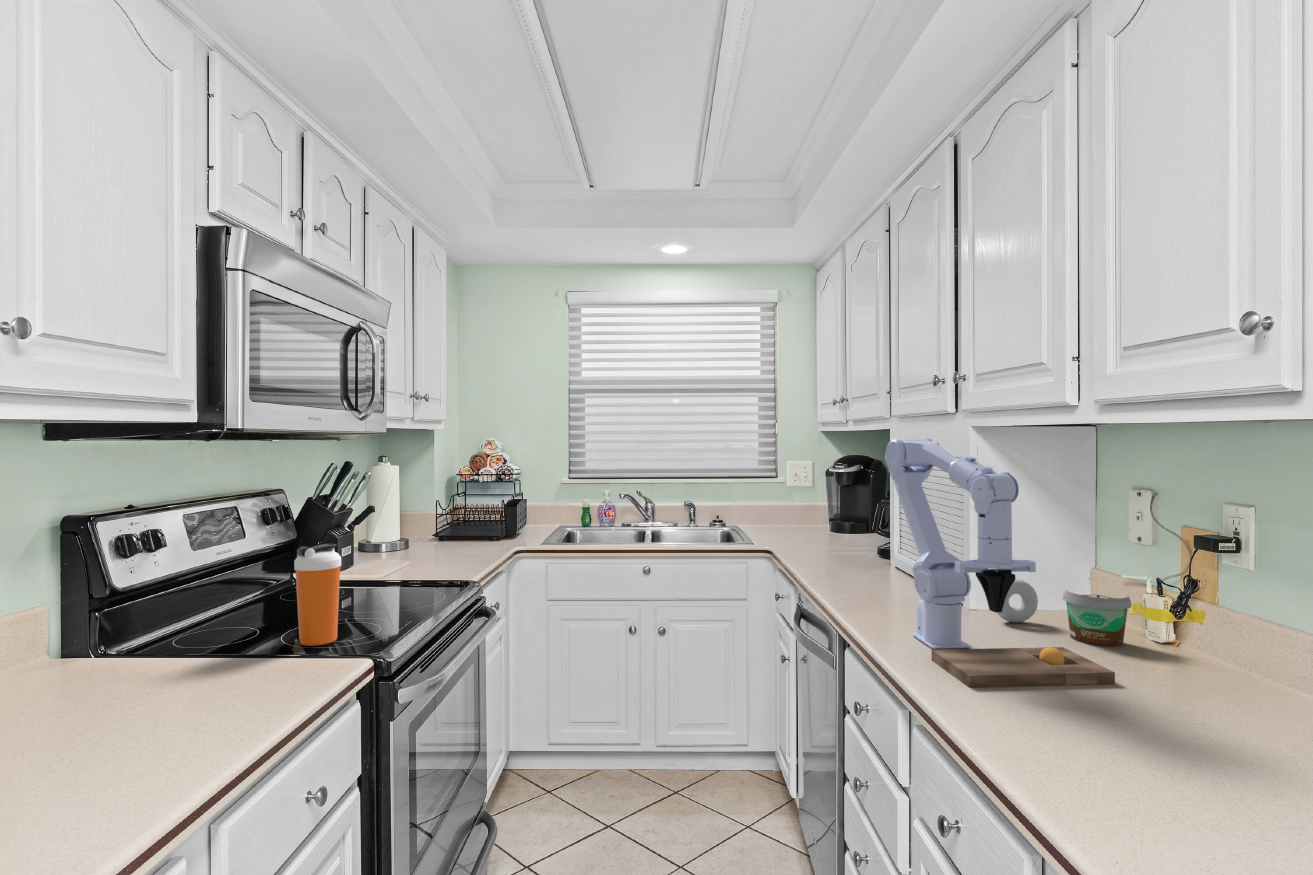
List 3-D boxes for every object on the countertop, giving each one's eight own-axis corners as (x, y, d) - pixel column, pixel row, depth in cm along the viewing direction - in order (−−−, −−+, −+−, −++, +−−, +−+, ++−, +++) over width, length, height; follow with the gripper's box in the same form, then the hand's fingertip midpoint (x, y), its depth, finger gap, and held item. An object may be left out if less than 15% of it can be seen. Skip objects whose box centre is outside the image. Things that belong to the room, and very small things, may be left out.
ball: (1032, 663, 127) (1037, 642, 128) (1052, 671, 127) (1058, 650, 128) (1044, 667, 123) (1050, 646, 124) (1066, 675, 123) (1071, 653, 124)
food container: (1063, 643, 141) (1064, 594, 141) (1062, 635, 147) (1062, 588, 147) (1136, 652, 135) (1136, 601, 135) (1131, 643, 141) (1131, 595, 141)
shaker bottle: (350, 638, 145) (350, 544, 145) (310, 649, 138) (309, 551, 137) (326, 632, 150) (325, 541, 150) (285, 642, 142) (285, 547, 142)
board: (931, 659, 131) (931, 649, 131) (1062, 657, 132) (1062, 646, 132) (969, 687, 117) (969, 675, 117) (1114, 683, 118) (1114, 672, 118)
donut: (996, 624, 155) (997, 580, 155) (989, 620, 158) (989, 577, 158) (1041, 624, 155) (1041, 580, 155) (1032, 620, 158) (1033, 577, 158)
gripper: (967, 541, 123) (968, 617, 122) (1045, 540, 123) (1046, 615, 123) (948, 536, 130) (949, 607, 129) (1022, 535, 130) (1023, 606, 130)
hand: (995, 611), depth 127 cm, fingers closed
